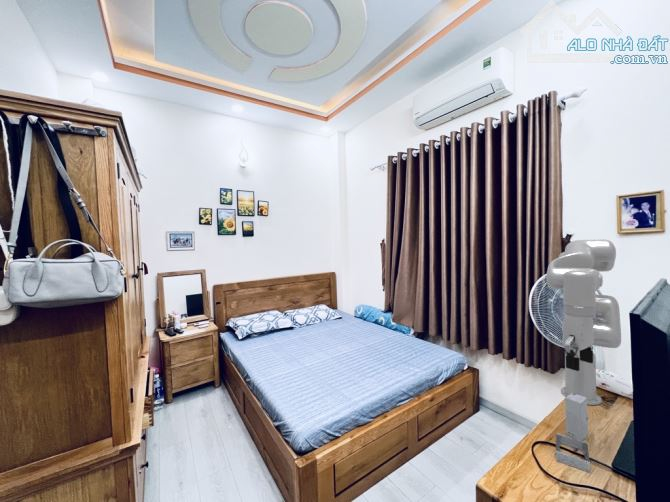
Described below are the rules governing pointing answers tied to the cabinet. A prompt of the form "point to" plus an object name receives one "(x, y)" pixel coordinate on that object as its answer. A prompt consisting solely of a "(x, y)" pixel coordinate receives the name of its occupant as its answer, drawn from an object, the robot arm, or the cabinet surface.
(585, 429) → the skincare box
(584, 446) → the socket collar
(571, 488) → the cabinet surface
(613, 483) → the cabinet surface
